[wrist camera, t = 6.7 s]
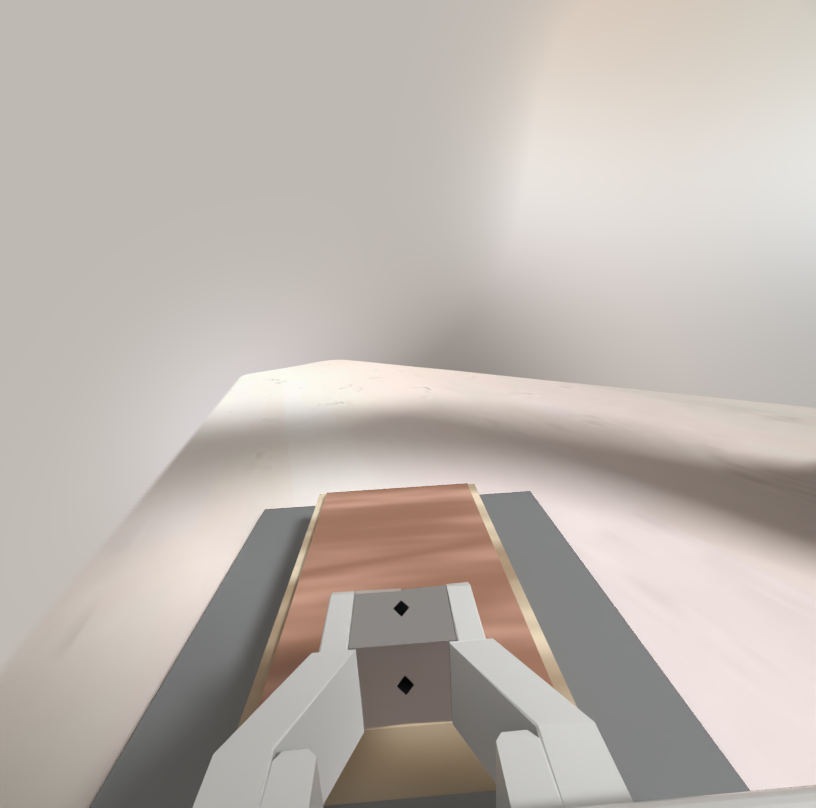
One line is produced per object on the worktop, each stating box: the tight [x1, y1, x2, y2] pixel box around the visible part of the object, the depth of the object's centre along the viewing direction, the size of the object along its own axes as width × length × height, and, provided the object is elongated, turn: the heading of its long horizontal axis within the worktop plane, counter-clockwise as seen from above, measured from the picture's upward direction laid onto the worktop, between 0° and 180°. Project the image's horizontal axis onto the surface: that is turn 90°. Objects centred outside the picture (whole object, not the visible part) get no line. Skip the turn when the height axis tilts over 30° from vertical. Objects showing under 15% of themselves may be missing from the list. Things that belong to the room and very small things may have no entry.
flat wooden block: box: [237, 483, 577, 806], centre depth 18 cm, size 3×9×14 cm
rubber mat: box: [90, 491, 750, 808], centre depth 18 cm, size 22×18×1 cm
